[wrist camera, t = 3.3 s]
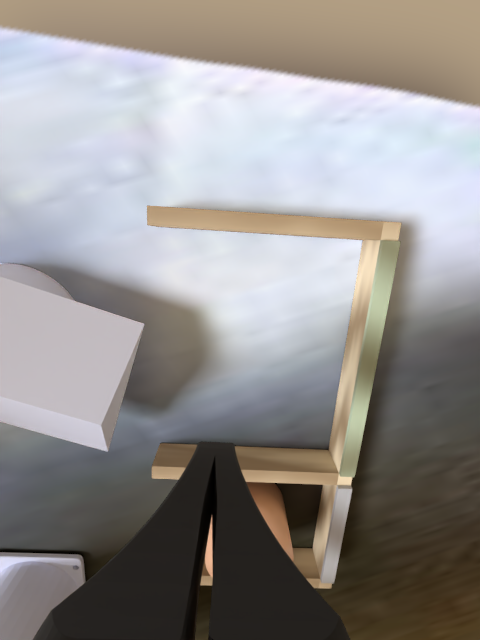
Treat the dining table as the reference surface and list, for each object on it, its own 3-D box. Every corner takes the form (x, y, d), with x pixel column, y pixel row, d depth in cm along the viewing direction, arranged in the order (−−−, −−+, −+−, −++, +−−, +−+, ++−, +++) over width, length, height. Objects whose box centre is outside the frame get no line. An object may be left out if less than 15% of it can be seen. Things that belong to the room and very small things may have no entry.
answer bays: (322, 557, 26) (332, 592, 24) (161, 553, 26) (152, 588, 23) (381, 224, 19) (404, 222, 16) (158, 209, 18) (145, 204, 16)
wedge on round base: (158, 310, 20) (-42, 243, 19) (123, 344, 14) (-187, 245, 12) (126, 420, 22) (-56, 367, 21) (81, 495, 16) (-186, 425, 14)
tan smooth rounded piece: (279, 532, 25) (288, 593, 21) (208, 530, 25) (203, 591, 21) (286, 474, 24) (298, 526, 20) (211, 471, 24) (206, 523, 19)
